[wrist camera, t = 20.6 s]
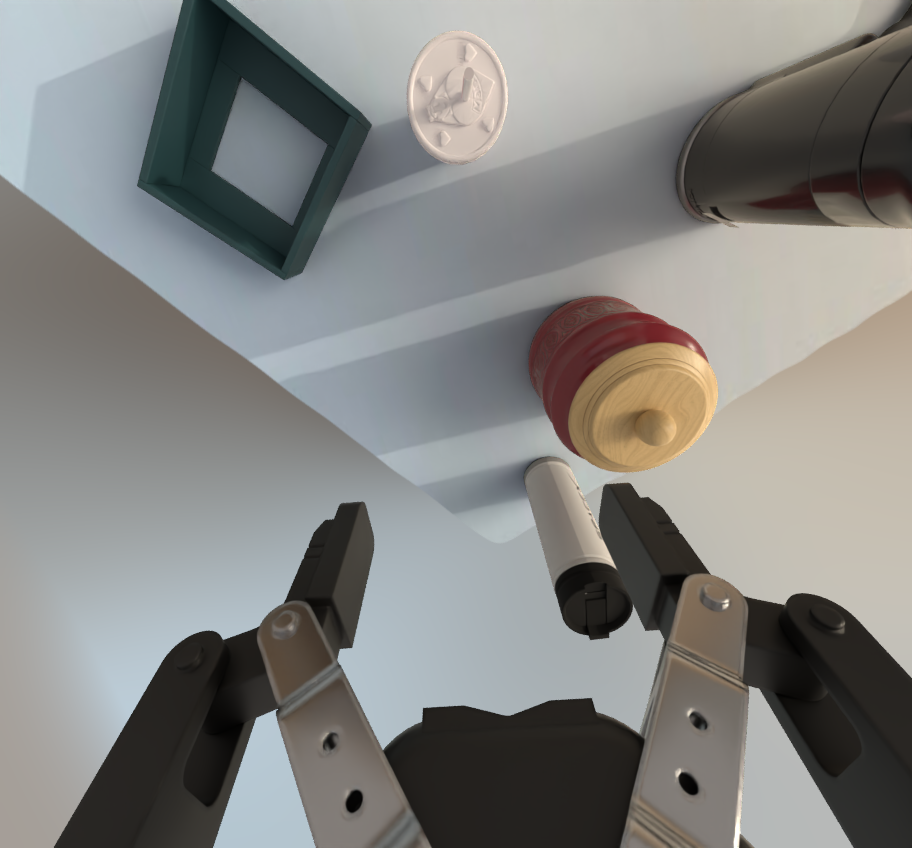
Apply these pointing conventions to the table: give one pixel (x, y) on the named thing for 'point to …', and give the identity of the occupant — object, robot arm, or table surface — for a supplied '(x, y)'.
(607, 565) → the travel mug
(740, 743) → the robot arm
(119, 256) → the table surface
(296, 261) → the bin
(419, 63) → the smoothie
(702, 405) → the kitchen canister
